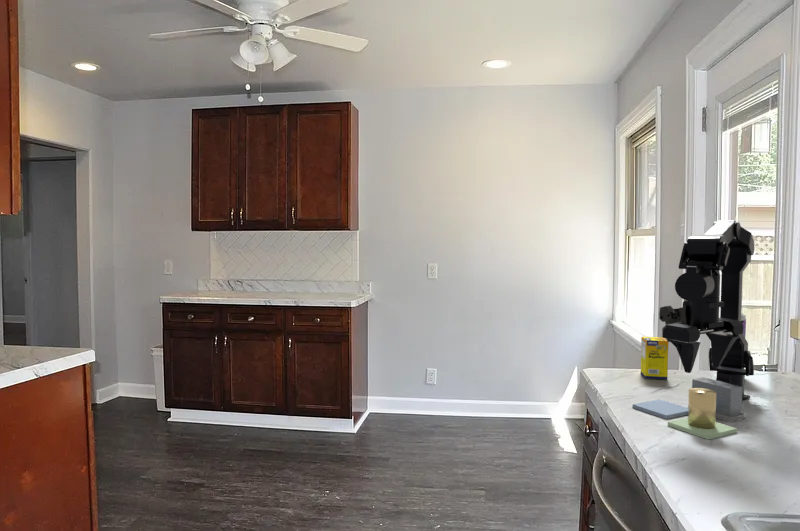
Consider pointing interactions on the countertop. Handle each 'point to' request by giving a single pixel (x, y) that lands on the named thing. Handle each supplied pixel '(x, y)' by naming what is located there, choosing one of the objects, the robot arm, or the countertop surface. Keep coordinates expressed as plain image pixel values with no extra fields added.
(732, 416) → the grey block with base
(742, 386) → the robot arm
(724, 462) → the countertop surface
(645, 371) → the supplement box
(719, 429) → the sage mat
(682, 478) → the countertop surface
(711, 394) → the gold metal cylinder
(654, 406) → the slate mat
